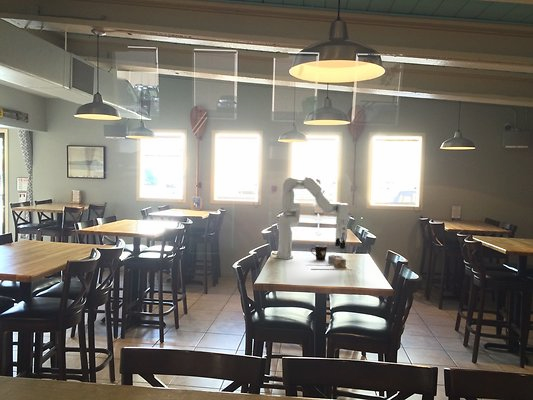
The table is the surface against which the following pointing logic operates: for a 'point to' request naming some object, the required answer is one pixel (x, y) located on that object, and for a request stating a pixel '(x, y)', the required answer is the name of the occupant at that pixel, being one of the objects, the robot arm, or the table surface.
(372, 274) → the table surface
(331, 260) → the dome ring
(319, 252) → the coffee mug
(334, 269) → the lane
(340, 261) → the die
